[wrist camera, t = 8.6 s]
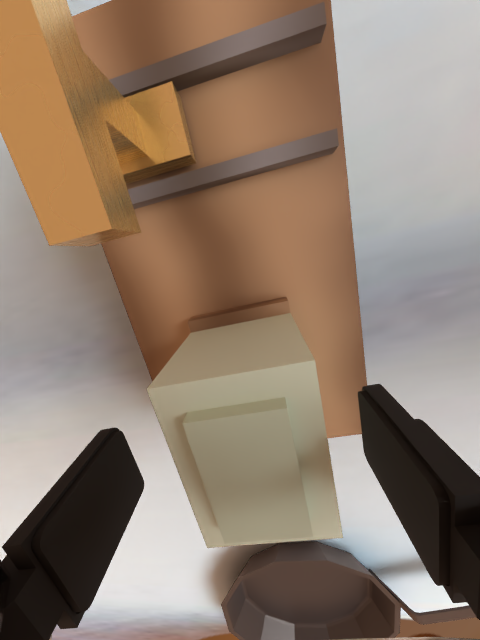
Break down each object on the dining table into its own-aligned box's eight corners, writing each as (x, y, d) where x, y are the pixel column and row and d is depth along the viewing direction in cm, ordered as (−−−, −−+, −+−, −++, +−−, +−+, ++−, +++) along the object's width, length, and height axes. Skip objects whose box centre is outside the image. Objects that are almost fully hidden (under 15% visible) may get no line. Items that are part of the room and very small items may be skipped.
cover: (287, 307, 12) (319, 369, 6) (307, 419, 14) (347, 555, 8) (195, 326, 13) (138, 399, 7) (226, 431, 15) (204, 564, 9)
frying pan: (197, 547, 26) (187, 595, 22) (527, 469, 20) (585, 517, 17) (261, 639, 30) (262, 692, 26) (549, 597, 24) (600, 657, 21)
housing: (298, 37, 13) (331, -131, 7) (342, 385, 19) (379, 445, 13) (100, 106, 14) (-2, 13, 9) (198, 408, 20) (175, 470, 15)
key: (158, 9, 9) (12, -346, 4) (212, 229, 11) (171, 212, 6) (43, 54, 10) (-225, -190, 4) (116, 254, 12) (-3, 259, 6)
